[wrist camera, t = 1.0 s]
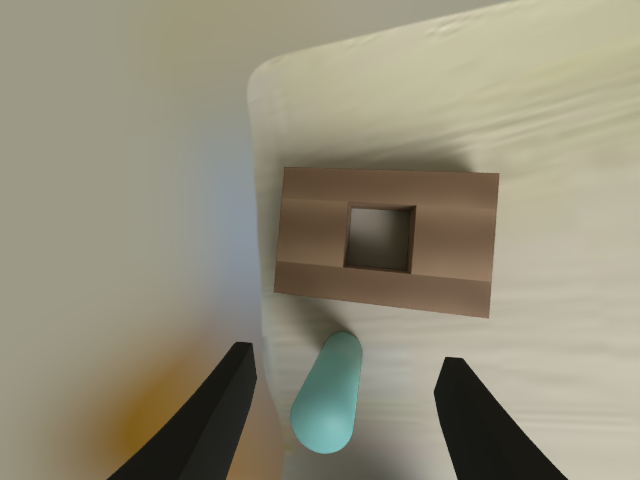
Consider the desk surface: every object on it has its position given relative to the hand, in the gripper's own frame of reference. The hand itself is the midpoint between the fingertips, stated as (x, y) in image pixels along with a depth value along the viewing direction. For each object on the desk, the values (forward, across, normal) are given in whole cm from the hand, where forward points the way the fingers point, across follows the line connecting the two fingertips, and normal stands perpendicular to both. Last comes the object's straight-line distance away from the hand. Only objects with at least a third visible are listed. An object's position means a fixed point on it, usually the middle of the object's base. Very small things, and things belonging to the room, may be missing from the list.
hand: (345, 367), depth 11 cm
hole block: (+12, -3, +1) cm, 13 cm away
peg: (+8, 0, +9) cm, 12 cm away
